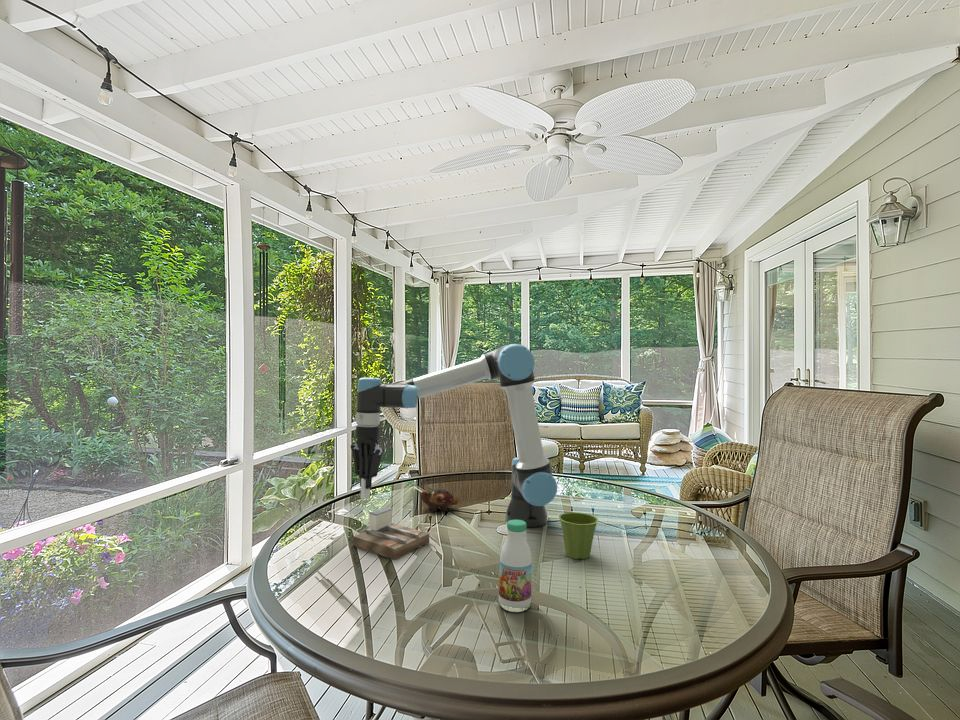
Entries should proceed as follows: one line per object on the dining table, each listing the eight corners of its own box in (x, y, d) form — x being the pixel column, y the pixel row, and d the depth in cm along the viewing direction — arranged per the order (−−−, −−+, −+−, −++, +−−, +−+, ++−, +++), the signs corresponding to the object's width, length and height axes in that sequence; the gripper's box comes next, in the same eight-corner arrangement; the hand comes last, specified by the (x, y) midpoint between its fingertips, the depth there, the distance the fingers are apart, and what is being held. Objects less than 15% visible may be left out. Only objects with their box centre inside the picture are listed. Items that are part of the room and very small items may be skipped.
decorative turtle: (415, 508, 190) (417, 487, 191) (452, 506, 197) (453, 486, 197) (424, 514, 182) (425, 492, 182) (461, 512, 188) (463, 491, 189)
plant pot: (599, 550, 153) (600, 514, 153) (595, 565, 141) (596, 526, 141) (561, 545, 157) (562, 509, 156) (554, 559, 145) (555, 521, 145)
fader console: (429, 542, 156) (429, 530, 155) (394, 559, 142) (394, 545, 142) (389, 531, 165) (389, 519, 165) (353, 546, 151) (353, 533, 151)
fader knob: (391, 529, 158) (392, 508, 158) (375, 535, 152) (376, 514, 152) (384, 527, 160) (384, 507, 160) (368, 533, 154) (369, 512, 154)
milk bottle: (496, 597, 121) (498, 516, 121) (527, 597, 122) (529, 516, 122) (500, 614, 113) (502, 527, 113) (533, 613, 114) (536, 527, 114)
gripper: (345, 424, 160) (342, 496, 160) (374, 428, 153) (371, 504, 153) (362, 422, 166) (359, 491, 166) (390, 426, 159) (388, 499, 159)
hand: (365, 497), depth 159 cm, fingers closed
